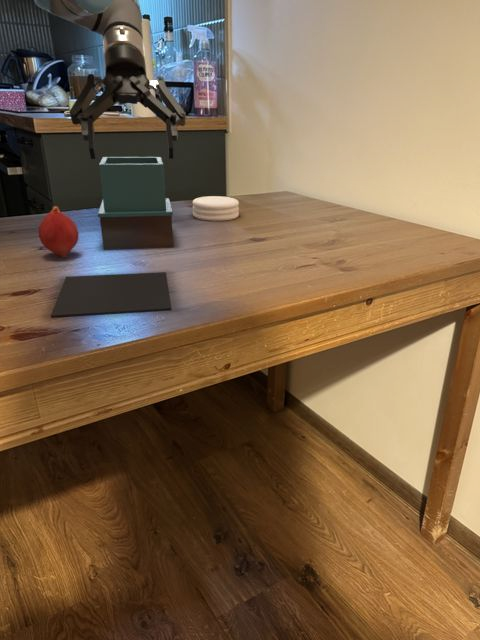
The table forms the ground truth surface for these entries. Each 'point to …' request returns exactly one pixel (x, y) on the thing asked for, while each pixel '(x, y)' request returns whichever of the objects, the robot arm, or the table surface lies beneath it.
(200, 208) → the white short cylinder
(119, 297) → the mat
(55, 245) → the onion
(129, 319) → the table surface
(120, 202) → the box
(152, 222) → the box
